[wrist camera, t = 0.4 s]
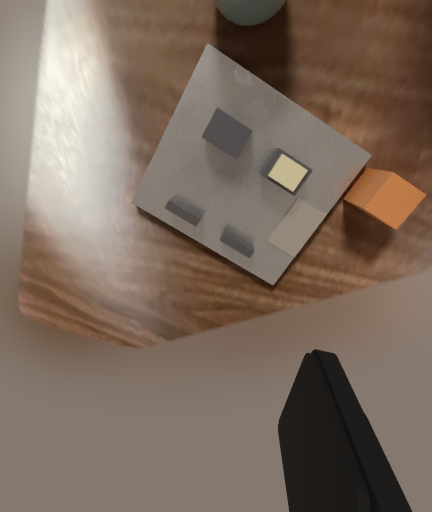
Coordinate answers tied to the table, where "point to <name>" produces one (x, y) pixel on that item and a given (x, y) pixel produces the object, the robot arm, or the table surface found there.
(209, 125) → the toggle
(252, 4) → the cup
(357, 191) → the cap
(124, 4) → the table surface
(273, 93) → the panel
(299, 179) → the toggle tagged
